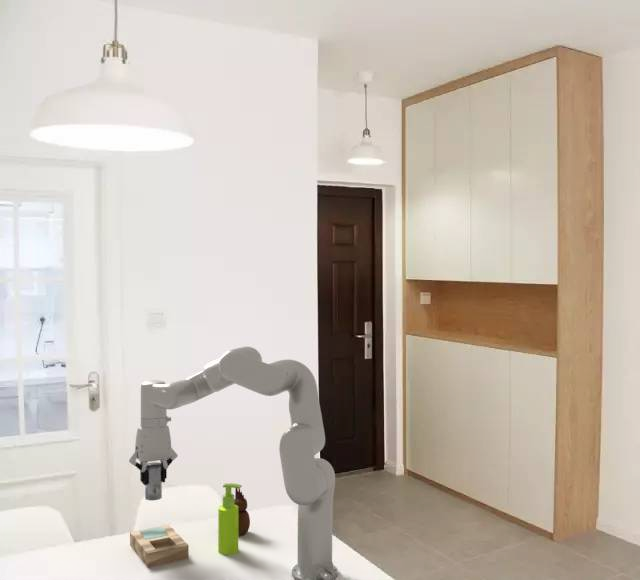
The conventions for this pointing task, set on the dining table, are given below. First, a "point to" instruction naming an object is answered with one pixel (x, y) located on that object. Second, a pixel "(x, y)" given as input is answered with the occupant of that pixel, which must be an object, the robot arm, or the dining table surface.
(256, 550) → the dining table surface
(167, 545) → the housing
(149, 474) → the grey cylinder
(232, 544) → the soap dispenser
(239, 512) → the wooden figurine
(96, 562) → the dining table surface
